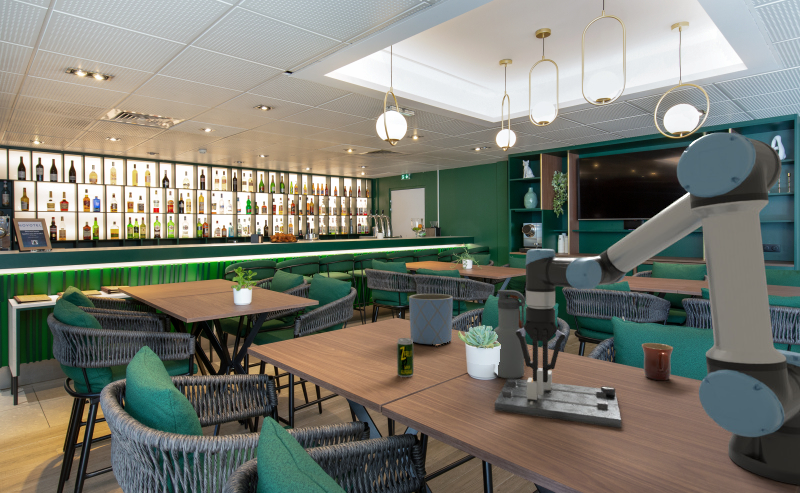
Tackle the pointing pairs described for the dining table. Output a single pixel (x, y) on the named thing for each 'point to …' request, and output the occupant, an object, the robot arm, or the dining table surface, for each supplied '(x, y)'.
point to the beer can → (405, 357)
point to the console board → (562, 403)
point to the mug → (657, 361)
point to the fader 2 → (549, 383)
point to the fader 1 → (531, 389)
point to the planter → (431, 318)
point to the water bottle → (510, 334)
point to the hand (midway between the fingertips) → (540, 393)
